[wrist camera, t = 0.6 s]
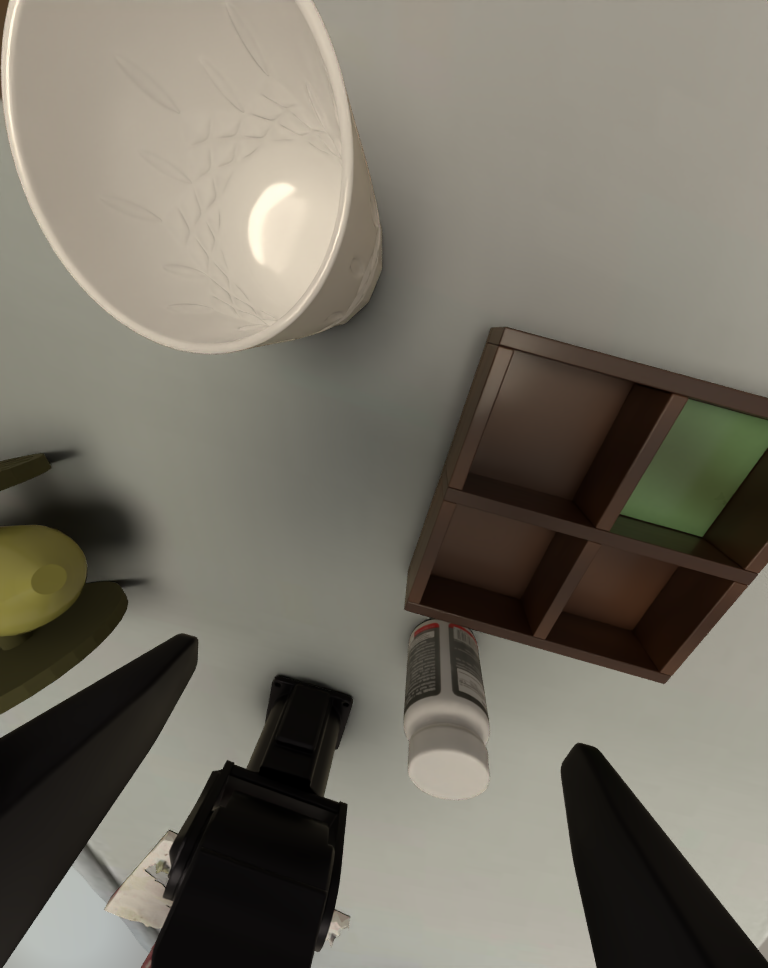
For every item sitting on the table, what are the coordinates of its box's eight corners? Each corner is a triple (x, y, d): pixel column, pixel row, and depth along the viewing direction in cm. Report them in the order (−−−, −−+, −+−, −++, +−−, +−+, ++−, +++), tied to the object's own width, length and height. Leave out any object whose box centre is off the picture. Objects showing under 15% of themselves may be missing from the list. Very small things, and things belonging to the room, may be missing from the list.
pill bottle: (410, 665, 27) (401, 800, 19) (407, 615, 25) (396, 742, 17) (476, 669, 26) (494, 811, 18) (478, 617, 24) (500, 751, 16)
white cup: (415, 167, 15) (391, -76, 6) (376, 359, 18) (322, 386, 9) (237, 125, 15) (-45, -172, 6) (228, 322, 19) (34, 314, 10)
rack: (631, 634, 23) (665, 684, 20) (407, 571, 23) (403, 610, 20) (795, 410, 17) (882, 429, 14) (491, 327, 17) (504, 326, 14)
